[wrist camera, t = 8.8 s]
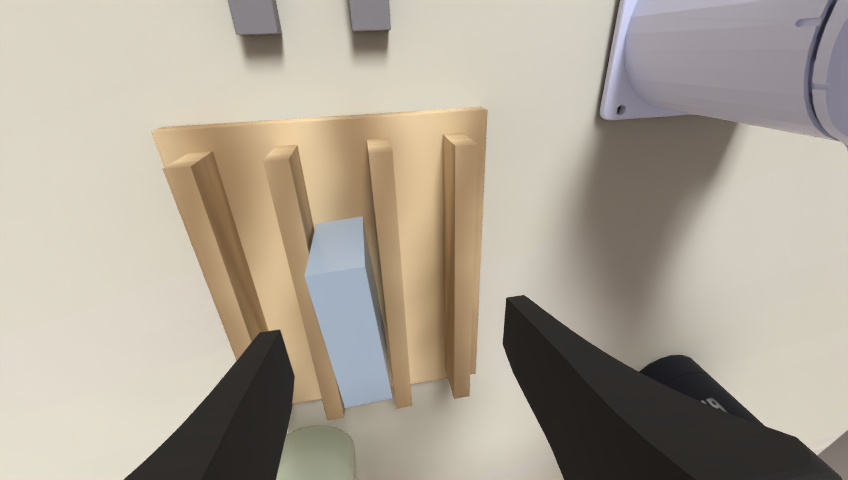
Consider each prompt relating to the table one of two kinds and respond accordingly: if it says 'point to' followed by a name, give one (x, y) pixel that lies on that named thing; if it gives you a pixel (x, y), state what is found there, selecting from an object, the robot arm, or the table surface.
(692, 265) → the table surface
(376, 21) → the drying stand
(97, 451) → the table surface
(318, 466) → the pale green cylinder
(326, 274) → the light blue slab
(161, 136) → the dish rack
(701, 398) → the black thermos bottle
